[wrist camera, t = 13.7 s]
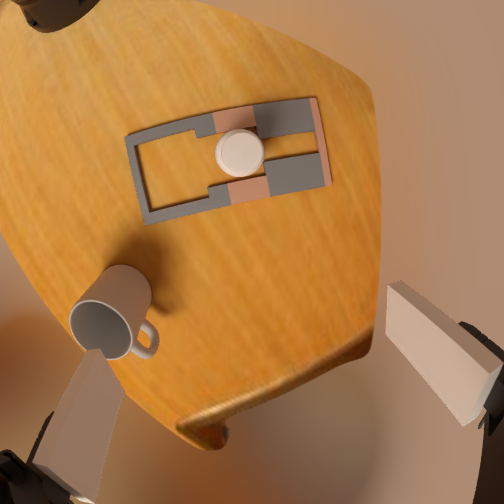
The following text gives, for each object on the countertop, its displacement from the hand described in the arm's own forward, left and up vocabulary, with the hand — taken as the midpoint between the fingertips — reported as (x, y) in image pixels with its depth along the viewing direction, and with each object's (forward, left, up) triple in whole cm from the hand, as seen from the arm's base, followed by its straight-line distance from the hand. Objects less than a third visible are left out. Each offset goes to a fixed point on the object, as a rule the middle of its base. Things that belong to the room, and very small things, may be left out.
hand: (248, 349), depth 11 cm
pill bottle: (-8, +3, -27) cm, 28 cm away
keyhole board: (-8, +2, -27) cm, 28 cm away
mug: (+8, -16, -27) cm, 32 cm away
